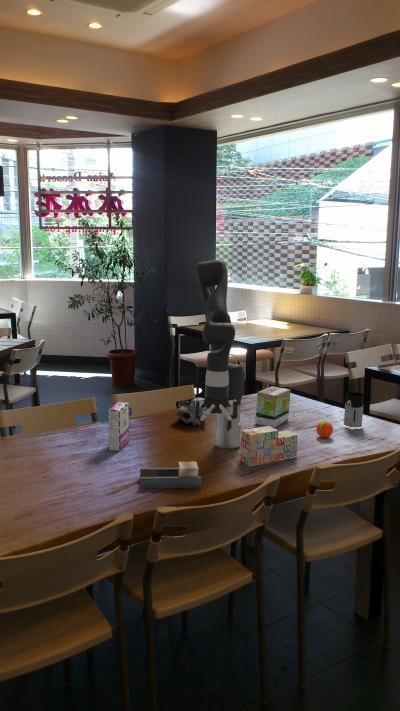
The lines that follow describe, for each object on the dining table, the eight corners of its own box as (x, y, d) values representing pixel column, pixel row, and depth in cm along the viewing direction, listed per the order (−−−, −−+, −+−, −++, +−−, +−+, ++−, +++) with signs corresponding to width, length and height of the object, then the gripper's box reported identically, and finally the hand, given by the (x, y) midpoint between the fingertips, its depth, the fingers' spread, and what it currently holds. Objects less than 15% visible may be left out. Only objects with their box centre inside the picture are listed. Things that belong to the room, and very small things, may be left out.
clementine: (326, 441, 249) (328, 425, 248) (311, 438, 253) (312, 421, 252) (335, 437, 256) (336, 421, 254) (320, 433, 260) (321, 417, 258)
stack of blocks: (286, 452, 236) (288, 422, 233) (296, 458, 230) (298, 427, 228) (240, 461, 226) (241, 429, 223) (249, 466, 221) (250, 434, 218)
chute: (198, 477, 210) (198, 467, 209) (201, 487, 201) (201, 477, 200) (140, 478, 207) (140, 468, 207) (140, 488, 199) (140, 478, 198)
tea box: (275, 428, 265) (276, 395, 262) (254, 424, 270) (256, 391, 267) (289, 420, 278) (291, 388, 275) (269, 416, 283) (270, 385, 280)
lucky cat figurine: (184, 415, 279) (199, 389, 278) (203, 430, 274) (219, 404, 273) (168, 414, 266) (184, 387, 264) (189, 429, 261) (205, 402, 259)
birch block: (196, 475, 208) (196, 461, 207) (197, 482, 202) (198, 468, 201) (178, 475, 207) (178, 461, 206) (179, 482, 201) (180, 468, 200)
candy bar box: (117, 441, 243) (117, 401, 240) (129, 442, 242) (129, 402, 239) (107, 450, 232) (107, 409, 229) (120, 451, 231) (120, 410, 228)
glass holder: (365, 426, 272) (368, 393, 269) (354, 434, 260) (357, 400, 257) (346, 422, 276) (348, 390, 273) (335, 430, 264) (337, 397, 261)
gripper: (236, 380, 204) (234, 427, 207) (194, 380, 202) (192, 427, 205) (240, 386, 196) (238, 434, 199) (196, 385, 195) (194, 434, 198)
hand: (215, 430), depth 202 cm, fingers open, 8 cm apart
